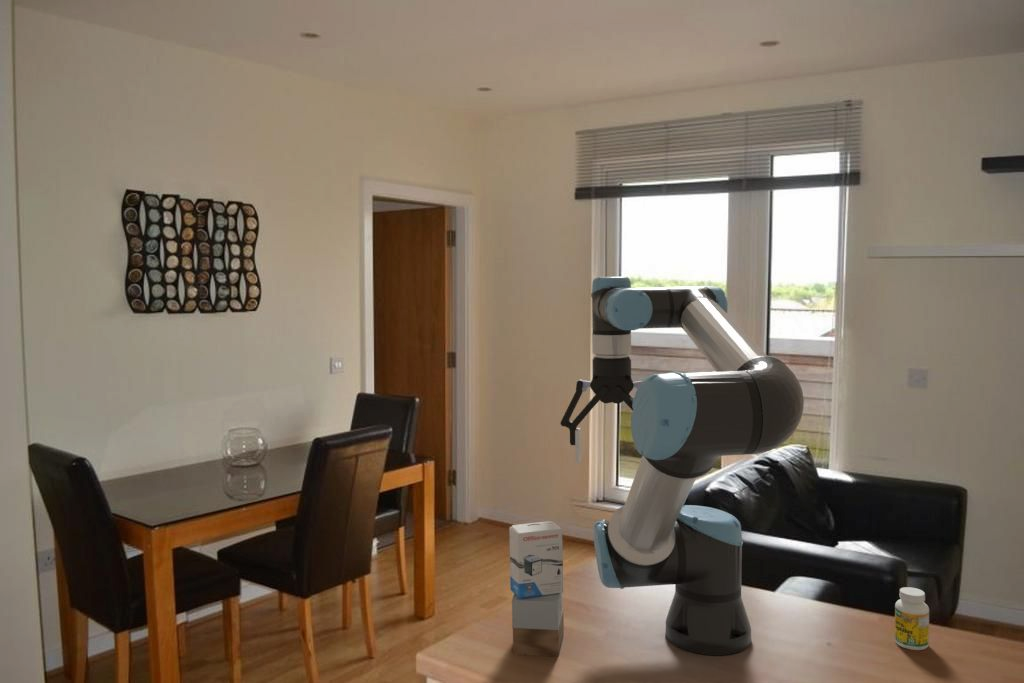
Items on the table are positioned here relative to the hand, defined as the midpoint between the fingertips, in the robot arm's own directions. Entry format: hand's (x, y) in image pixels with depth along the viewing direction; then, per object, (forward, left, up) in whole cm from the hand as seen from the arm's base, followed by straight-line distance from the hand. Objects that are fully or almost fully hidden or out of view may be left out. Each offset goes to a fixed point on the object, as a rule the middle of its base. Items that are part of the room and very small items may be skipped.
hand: (612, 462), depth 158 cm
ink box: (+12, +20, -19) cm, 30 cm away
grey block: (+12, +20, -24) cm, 34 cm away
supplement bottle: (-53, +9, -29) cm, 61 cm away
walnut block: (+12, +20, -29) cm, 37 cm away
